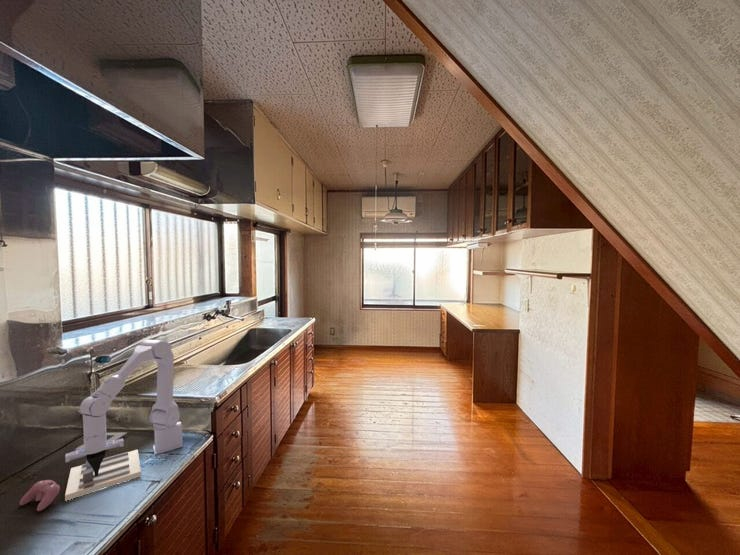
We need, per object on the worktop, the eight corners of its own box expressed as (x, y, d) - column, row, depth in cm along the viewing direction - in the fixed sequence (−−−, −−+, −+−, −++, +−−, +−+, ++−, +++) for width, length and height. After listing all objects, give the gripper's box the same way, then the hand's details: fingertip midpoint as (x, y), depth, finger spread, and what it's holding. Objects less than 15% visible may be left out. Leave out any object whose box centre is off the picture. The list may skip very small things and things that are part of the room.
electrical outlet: (101, 454, 127) (101, 448, 127) (74, 454, 128) (74, 448, 128) (127, 437, 141) (127, 431, 140) (102, 437, 141) (102, 432, 141)
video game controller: (54, 509, 99) (66, 482, 102) (36, 512, 95) (49, 484, 98) (34, 502, 102) (46, 477, 105) (16, 505, 98) (29, 478, 101)
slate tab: (95, 463, 116) (95, 455, 116) (95, 466, 114) (95, 458, 114) (86, 466, 115) (86, 457, 115) (86, 469, 113) (86, 460, 113)
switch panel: (137, 454, 126) (137, 447, 126) (140, 477, 112) (140, 469, 112) (71, 473, 114) (71, 465, 114) (65, 501, 100) (64, 492, 100)
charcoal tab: (93, 477, 108) (93, 468, 108) (93, 481, 106) (92, 471, 106) (83, 480, 107) (83, 471, 106) (83, 484, 105) (83, 474, 105)
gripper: (122, 422, 115) (123, 460, 115) (65, 436, 106) (67, 478, 106) (123, 429, 110) (124, 469, 110) (64, 445, 100) (65, 488, 101)
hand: (96, 474), depth 108 cm, fingers closed
